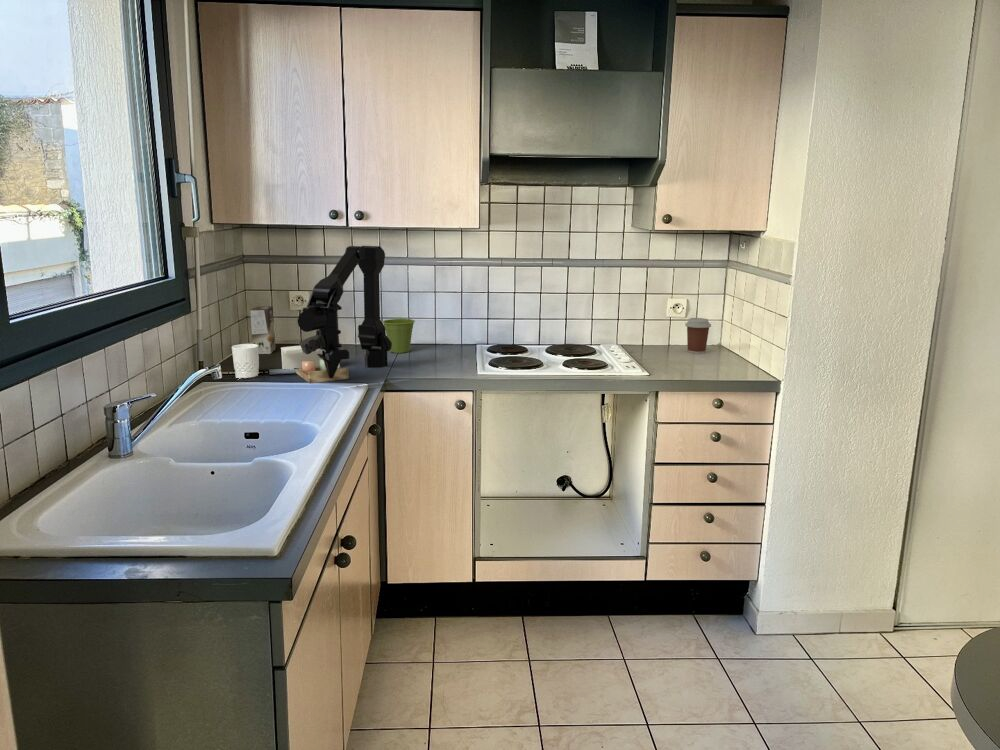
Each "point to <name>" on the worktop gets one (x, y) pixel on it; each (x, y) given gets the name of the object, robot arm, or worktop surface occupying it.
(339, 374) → the tray
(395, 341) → the plant pot
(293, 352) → the shelf
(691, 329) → the coffee cup
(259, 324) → the coffee box
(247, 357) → the white cup
